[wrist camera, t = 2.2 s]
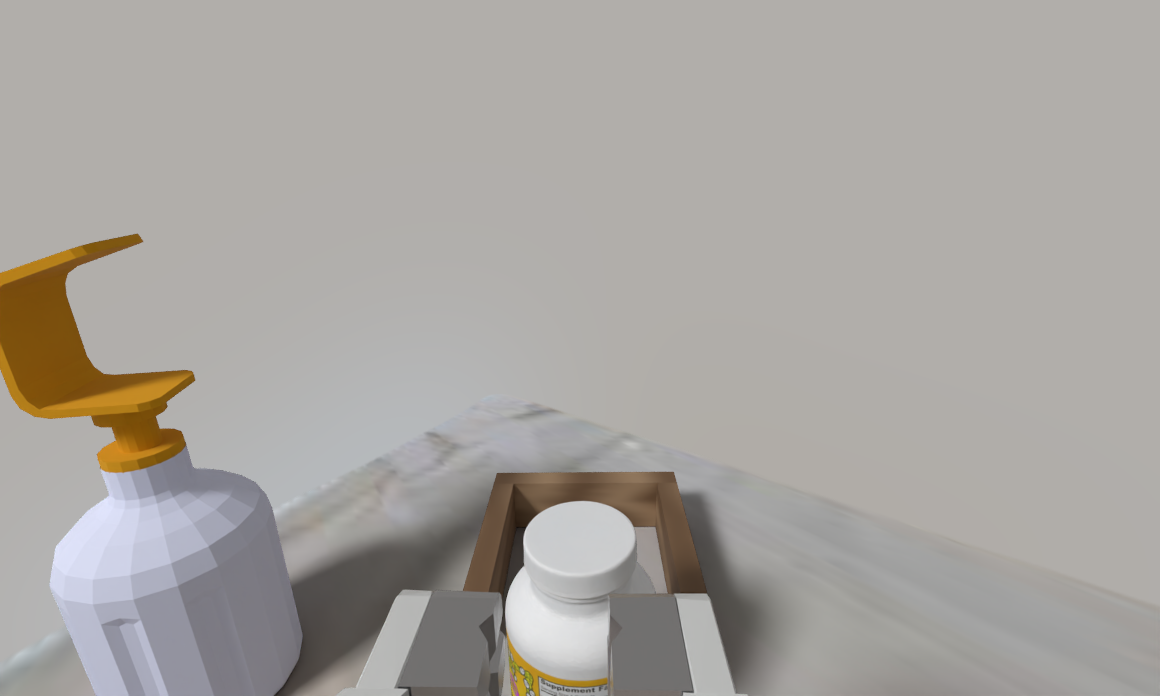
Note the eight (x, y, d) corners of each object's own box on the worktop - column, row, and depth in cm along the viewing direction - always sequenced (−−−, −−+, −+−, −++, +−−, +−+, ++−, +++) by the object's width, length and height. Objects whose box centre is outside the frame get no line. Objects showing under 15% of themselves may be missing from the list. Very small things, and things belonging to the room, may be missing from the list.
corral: (671, 514, 44) (673, 471, 42) (702, 645, 32) (706, 591, 31) (500, 515, 44) (497, 473, 43) (468, 645, 32) (462, 592, 31)
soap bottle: (271, 741, 27) (129, 251, 19) (68, 774, 26) (-179, 262, 18) (323, 604, 35) (239, 224, 27) (171, 624, 34) (36, 230, 26)
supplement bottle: (532, 680, 30) (520, 482, 26) (652, 693, 29) (660, 490, 25) (501, 818, 24) (478, 586, 19) (652, 839, 23) (663, 601, 19)
